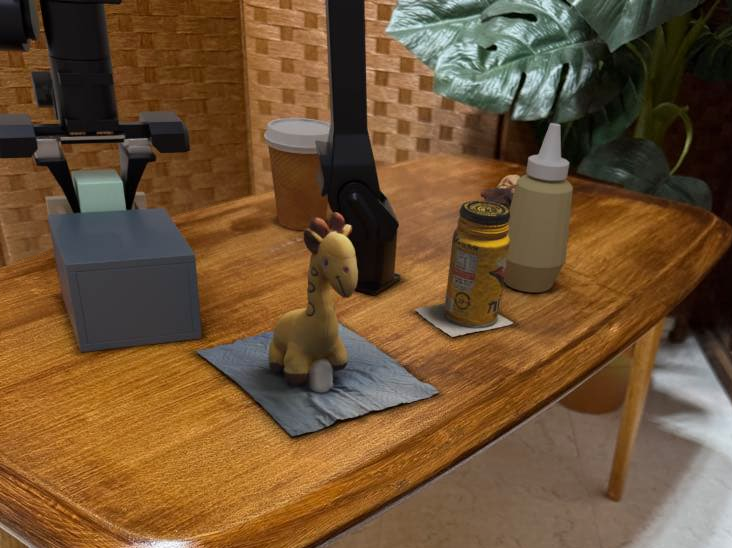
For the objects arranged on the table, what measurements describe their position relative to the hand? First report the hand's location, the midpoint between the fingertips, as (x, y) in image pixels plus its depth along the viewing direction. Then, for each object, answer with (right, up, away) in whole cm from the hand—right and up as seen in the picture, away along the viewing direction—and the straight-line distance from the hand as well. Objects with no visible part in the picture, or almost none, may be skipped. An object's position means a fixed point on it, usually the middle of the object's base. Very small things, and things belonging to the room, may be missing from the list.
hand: (103, 219), depth 91 cm
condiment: (+39, -10, +3) cm, 40 cm away
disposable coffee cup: (+19, +8, +23) cm, 31 cm away
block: (0, -1, +1) cm, 1 cm away
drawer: (-1, -4, +4) cm, 6 cm away
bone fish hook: (+49, +14, +34) cm, 61 cm away
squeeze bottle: (+47, -3, +12) cm, 49 cm away
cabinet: (+4, -11, -4) cm, 13 cm away
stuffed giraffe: (+24, -19, -10) cm, 32 cm away
